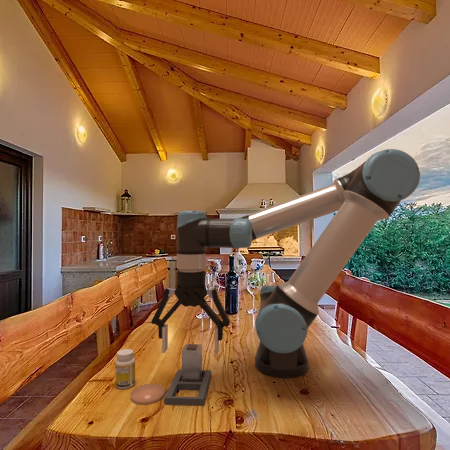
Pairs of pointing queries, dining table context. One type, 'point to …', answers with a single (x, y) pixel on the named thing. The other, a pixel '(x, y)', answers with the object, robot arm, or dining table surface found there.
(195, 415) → the dining table surface
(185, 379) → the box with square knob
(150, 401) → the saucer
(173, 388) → the grey double frame
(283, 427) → the dining table surface
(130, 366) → the supplement bottle
